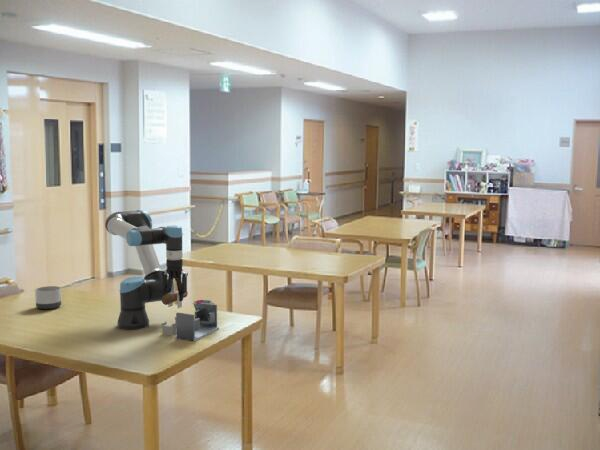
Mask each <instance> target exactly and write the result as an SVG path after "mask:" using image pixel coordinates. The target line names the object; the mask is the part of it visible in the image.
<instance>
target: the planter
mask: <svg viewBox="0 0 600 450" xmlns="http://www.w3.org/2000/svg"><path fill="white" fill-rule="evenodd" d="M61 288H62V287H60V286H56V285H55V286H54V285H52V286H51V285H49V286H41V287H36V288H35V289H34V292H35V307H36V308H38V309H41V310H53V309H52V308H54V309H57V308H58V307H60V306H61V305H62V289H61Z"/></svg>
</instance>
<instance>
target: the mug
mask: <svg viewBox="0 0 600 450" xmlns="http://www.w3.org/2000/svg"><path fill="white" fill-rule="evenodd" d="M200 303H207V304H215V303H214V302H212V301H211V300H210V299H209V300H208V299H198V300H194V301H192V305H193V307H194V310H195V311H198V310H200ZM195 311H194V312H195Z"/></svg>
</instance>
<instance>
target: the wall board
mask: <svg viewBox="0 0 600 450" xmlns="http://www.w3.org/2000/svg"><path fill="white" fill-rule="evenodd" d="M218 330H220V326H217V327H209V326H202V325H200V329H199V330H197V331H195V338H194V341H193V342H197V341H200V340H201V339H203V338H205V337H207V336H209V335H210V334H212V333H214V332H216V331H218ZM180 338H182V337H180ZM174 339H177V335H174ZM184 339H185V340H184V341H187V340H186V338H184ZM187 339H188V338H187ZM177 340H178V339H177ZM189 340H190V338H189ZM189 340H188V341H189Z"/></svg>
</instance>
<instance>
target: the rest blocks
mask: <svg viewBox="0 0 600 450" xmlns="http://www.w3.org/2000/svg"><path fill="white" fill-rule="evenodd" d="M174 320H175V322H174V323H172V324H170V323H167V321H163V322H161V325H160V326H161V334H162V335H166V336H167V335H168V336H176V335H177V328H176V316H175V317H174Z"/></svg>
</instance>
